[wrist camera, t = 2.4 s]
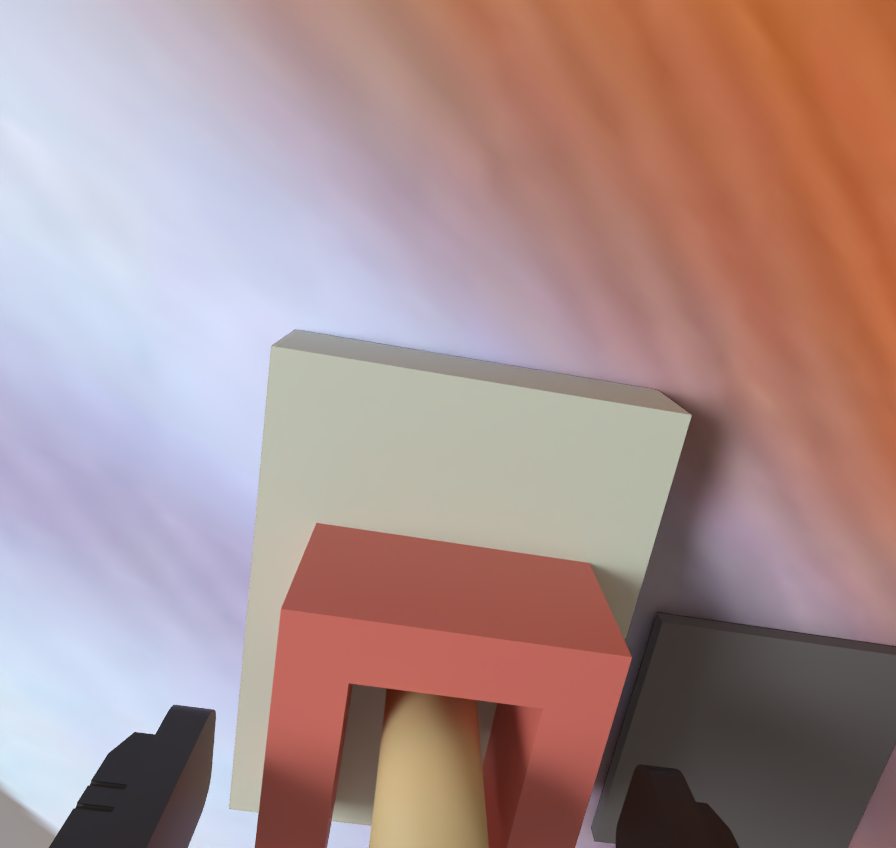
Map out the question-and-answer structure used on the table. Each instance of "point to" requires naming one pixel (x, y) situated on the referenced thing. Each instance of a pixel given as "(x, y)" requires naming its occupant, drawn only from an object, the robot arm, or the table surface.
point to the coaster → (759, 729)
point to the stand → (439, 536)
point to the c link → (444, 674)
